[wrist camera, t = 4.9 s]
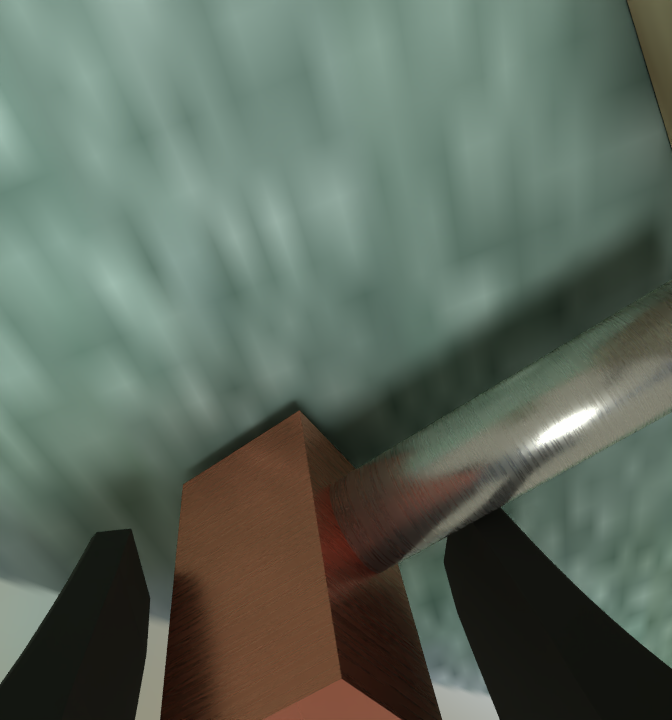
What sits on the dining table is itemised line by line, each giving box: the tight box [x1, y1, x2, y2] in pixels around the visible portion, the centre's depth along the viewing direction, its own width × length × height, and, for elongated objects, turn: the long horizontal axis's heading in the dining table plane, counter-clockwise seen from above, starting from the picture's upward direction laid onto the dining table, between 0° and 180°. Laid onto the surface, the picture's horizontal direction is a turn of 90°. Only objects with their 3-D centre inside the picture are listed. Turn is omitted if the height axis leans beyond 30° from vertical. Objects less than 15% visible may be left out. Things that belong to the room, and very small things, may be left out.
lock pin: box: [160, 280, 672, 720], centre depth 10 cm, size 3×11×5 cm, turn 124°
